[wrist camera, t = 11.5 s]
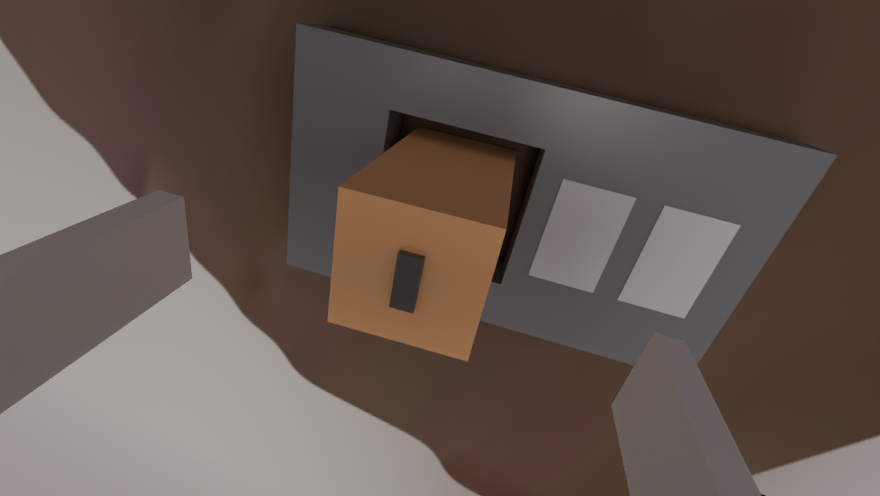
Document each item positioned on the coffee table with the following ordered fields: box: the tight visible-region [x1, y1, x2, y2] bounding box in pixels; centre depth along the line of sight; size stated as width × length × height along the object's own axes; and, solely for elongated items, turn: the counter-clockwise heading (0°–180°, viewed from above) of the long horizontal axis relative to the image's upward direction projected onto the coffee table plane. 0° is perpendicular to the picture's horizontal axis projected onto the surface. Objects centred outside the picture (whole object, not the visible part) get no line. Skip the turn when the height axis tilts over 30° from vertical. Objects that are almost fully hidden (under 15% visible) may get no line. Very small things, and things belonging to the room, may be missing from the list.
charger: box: [328, 127, 517, 361], centre depth 17 cm, size 5×5×10 cm
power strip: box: [287, 23, 837, 366], centre depth 21 cm, size 12×22×3 cm, turn 77°
